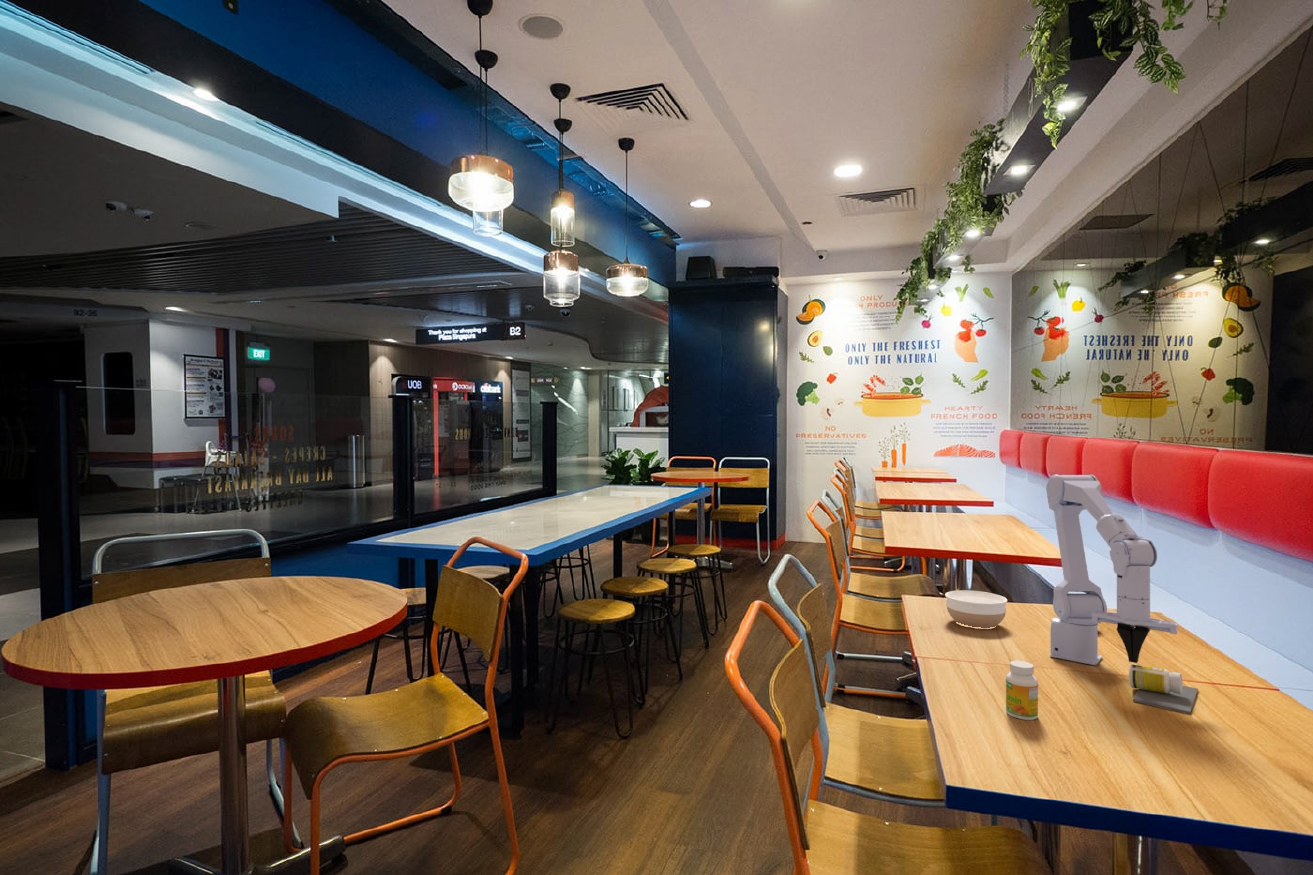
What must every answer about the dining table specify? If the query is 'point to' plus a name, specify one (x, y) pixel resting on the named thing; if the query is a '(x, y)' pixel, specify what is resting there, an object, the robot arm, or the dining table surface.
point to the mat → (1168, 699)
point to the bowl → (976, 608)
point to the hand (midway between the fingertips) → (1133, 661)
